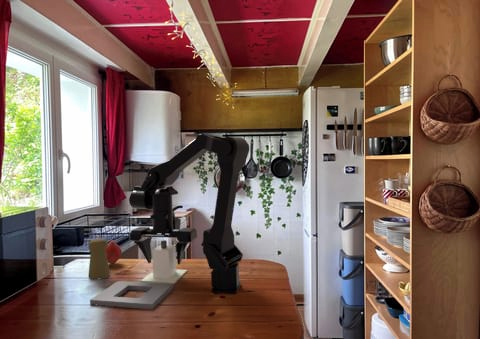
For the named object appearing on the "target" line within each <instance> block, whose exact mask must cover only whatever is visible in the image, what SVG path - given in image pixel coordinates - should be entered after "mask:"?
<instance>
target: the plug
mask: <svg viewBox="0 0 480 339" xmlns="http://www.w3.org/2000/svg"><path fill="white" fill-rule="evenodd" d="M151 263H152V272H153V278H167V279H170V278H171V277H172V276H173V275H174V274H175V273H176V269H177V248H176V245H167V240H160V245H158V246H156V247H154V248H153V249H151Z"/></svg>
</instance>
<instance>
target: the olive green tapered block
mask: <svg viewBox="0 0 480 339" xmlns="http://www.w3.org/2000/svg"><path fill="white" fill-rule="evenodd" d="M107 245H108V241H107V239H106V238H100V237H99V238H98V237H97V238H93V239H91V240H90V241H89V242H88V245H87V246H88V247H87V248H88V250H89V251H90V254H89V266H88V267H89V268H88V276H87V278H88V277H89V278H91V279H90V280H99V279H98V278H102V279H104V278H103V277H105V278H107V277H106V276H108V275H109V274H110V275H111V271H110V270H111V269H110V266H109V263H108V260H107V255H106V248H107ZM110 275H109V276H110ZM109 276H108V277H109ZM89 278H88V279H89Z"/></svg>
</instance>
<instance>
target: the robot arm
mask: <svg viewBox="0 0 480 339" xmlns="http://www.w3.org/2000/svg"><path fill="white" fill-rule="evenodd" d="M207 152H210V153H214V154H216V161H217V163H218V167H219V170H220V173H219V180H218V187H217V195H216V200H215V207H214V215H213V221H212V225H211V228H207V229H205V230H204V231H203V233H202V242H201V245H200V246H201V247H202V253H203V255H204V256H205V259H206V261H207V265H208V267H209V269H211V272H210V279H211V280H210V281H211V282H210V283H211V287H212V288H211V292H212V293H224V294H237V292H238V290H239V288H240V286H241V285H242V283H241V281H240V268H239V267H240V266H239V265H240V263H239V262H242V260H243V256H244V254H243V252H241V250H240V249H239V248H238V247H237V246H236V245H235V233H234V230H233V227H232V223H233V216H234V209H235V204H236V203H235V202H236V198H237V190H238V185H239V184H238V183H239V177H240V176H239V175H240V173H241V171H242V169H243V167H244V166H245V164H246V162H247V159H248V156H249V153H250V145H249V143H248V141H247V140H246V139H245V138H243V137H240V136H239V137H238V136H224V137H222V136H218V135H213V134H211V133H200V134H197V135H196V137H195V139H194V140H192V141H191V142H189V143H188V144H187V145H185V147H183V148H182V149H181V150H180V151H178V152H177V153H176V154H175V155H174V156H172V157H171V158H169V160H166V161H163V162H161V163H158V164H156V165H154V166H153V167H150V168H149V169H148V170H147V172H146V174H147V175H146V176H145V178H144V181H143V183H142V184H141V185H134V186H133V191H131V193H130V194H129V198H128V202H129V205H130V206H131V208H133V209H139V210H151V213H152V214H151V215H150V217H149V218H150V219H151V220H152V228H150V227H149V226H148V227H147V226H144V227H143V226H139V227H136V228H134V229H131V230H130V232H129V234H128V235H129V241H133V244H136V245H137V248H139V250H140V251H141V253H142V254H143V255H144V258H145V260H146V262H147V263H148V264H151V263H152V249H151V248H152V246H151V243H152V238H170V239H171V238H173V239H174V238H176V240H177V242H176V244H175V248H176V263H177V265H179V266H180V265H181V263H182V260H183V257H184V254H185V251H186V248H187V246H188V244H190V243H191V242H192V241H194V240H196V238H197V237H198V231H197V229H196V228H195V227H182V228H181V223H182V222H181V221H182V219H181V218H179V217H176V214H175V211H173V196H174V195H178V194H179V191H178V190H177V189H175V188H174V187H173V184H174V183H175V182H176V181H177V179H179V178H180V175H181V173H182V171H184V169H186V168H187V167H189V166H190V165H191V164H193V163H194V162H196V161H197V160H198V159H199V158H201V157H202V156H204V154H205V153H207Z"/></svg>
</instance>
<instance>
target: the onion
mask: <svg viewBox="0 0 480 339" xmlns="http://www.w3.org/2000/svg"><path fill="white" fill-rule="evenodd" d="M122 253H123V252H122V249H121V247H120V246H119V244H117V243H116V242H114V240H113V239H112V240H110V242H109V243H107V248H106V255H107V260H108V264H111V265H115V264H116V263H117V262H118V261H119V260H120V259H121V257H122V255H123V254H122Z"/></svg>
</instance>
